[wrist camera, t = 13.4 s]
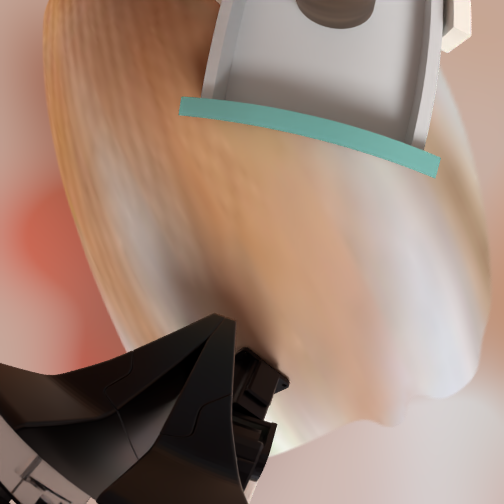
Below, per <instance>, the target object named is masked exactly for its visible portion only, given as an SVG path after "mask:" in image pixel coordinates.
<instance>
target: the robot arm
mask: <svg viewBox="0 0 504 504" xmlns="http://www.w3.org/2000/svg"><path fill="white" fill-rule="evenodd" d="M236 328H237V321H236V320H233V319H230V318H228V317H226V318H225V316H222V315H219V314H217V313H213V314H211V315H209V316H207V317H205V318H203V319H201V320H198V321H196V322H194V323H192V324H190V325H188V326H186V327H183V328H181V329H179V330H177V331H175V332H173V333H170V334H168V335H166V336H164V337H162V338H159V339H157V340H155V341H153V342H150V343H148V344H146V345H144V346H142V347H139V348H137V349H135V350H134V351H130V352H128V353H125V354H123V355H121V356H118V357H116V358H113V359H110V360H108V361H105V362H102V363H99V364H95V365H92V366H88V367H85V368H81V369H78V370H75V371H71V372H67V373H63V374H58V375H44V374H39V373H35V372H30V371H27V370H23V369H19V368H16V367H12V366H8V365H5V364H2V363H0V504H10V503H9V502H10V500H11V499H12V500H13V501H14V502H15V503H16V504H86V502H87V501H88V500H89V498H90V497H92V498H93V499H95V500H96V502H97V503H98V504H248V502H247V499H246V497H245V494H244V491H245V489H246V487H247V484H248V482H249V480H250V481H254V482H257V481H258V479H259V477H260V475H261V473H262V471H263V469H264V467H265V464H266V462H267V459H268V456H269V453H270V449H271V446H272V442H273V438H274V435H275V431H276V427H277V424H276V423H273V422H272V423H270V422H267V421H264V418H265V415H266V413H267V410H268V407H269V406H270V404H271V401H272V398H273V395H274V394H275V393H277V392H280V391H282V390H284V389H286V388H288V387H289V384H290V382H289V381H288V380H287V379H285V378H284V377H283V376H282V375H280V374H279V373H278V372H277V371H275V370H274V369H273V368H272V367H270V366H269V365H268V364H267V363H266V362H264V361H263V360H262V359H261V358H259V357H258V356H257V355H256V354H255V353H253V352H252V351H251V350H250V349H248V348H242V349H240V350H239V351H237V352H236V353H235V345H236ZM245 352H246V353H245Z"/></svg>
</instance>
